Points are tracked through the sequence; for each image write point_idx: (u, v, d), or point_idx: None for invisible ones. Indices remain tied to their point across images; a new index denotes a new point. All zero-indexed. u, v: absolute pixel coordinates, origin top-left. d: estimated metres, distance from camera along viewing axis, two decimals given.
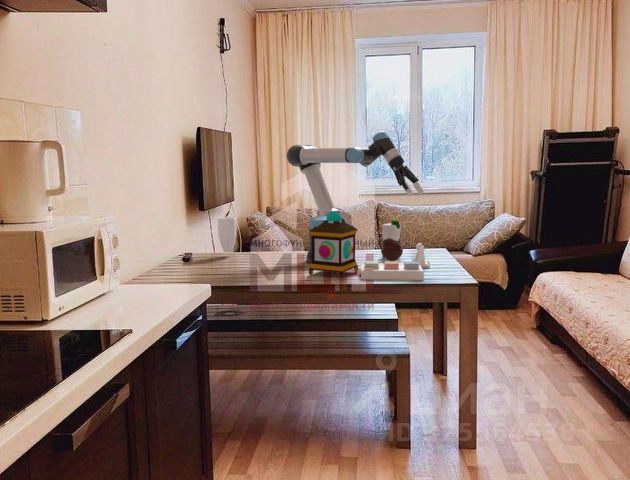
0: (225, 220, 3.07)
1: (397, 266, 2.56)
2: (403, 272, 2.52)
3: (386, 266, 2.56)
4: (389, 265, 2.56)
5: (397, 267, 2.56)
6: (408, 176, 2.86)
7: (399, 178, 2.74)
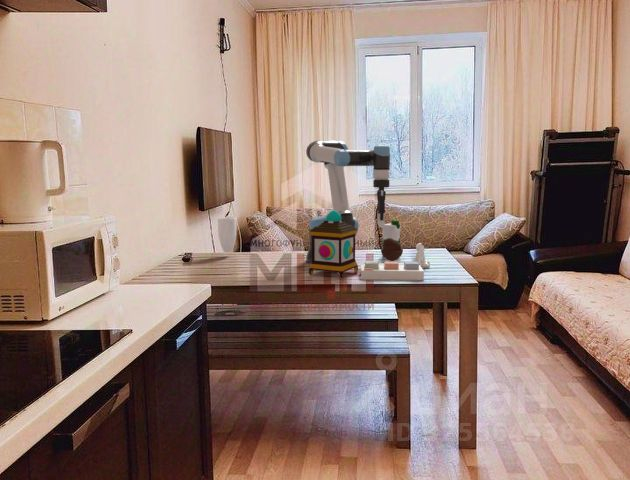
0: (225, 220, 3.07)
1: (397, 266, 2.56)
2: (403, 272, 2.52)
3: (386, 266, 2.56)
4: (389, 265, 2.56)
5: (397, 267, 2.56)
6: None
7: (382, 207, 2.59)
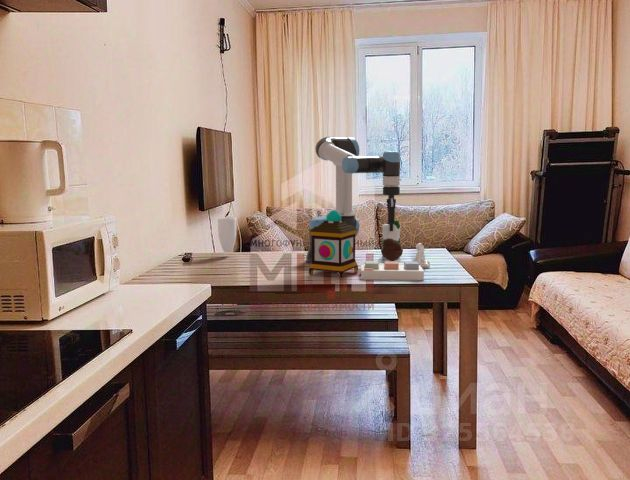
0: (225, 220, 3.07)
1: (397, 266, 2.56)
2: (403, 272, 2.52)
3: (386, 266, 2.56)
4: (389, 265, 2.56)
5: (397, 267, 2.56)
6: None
7: (392, 218, 2.53)
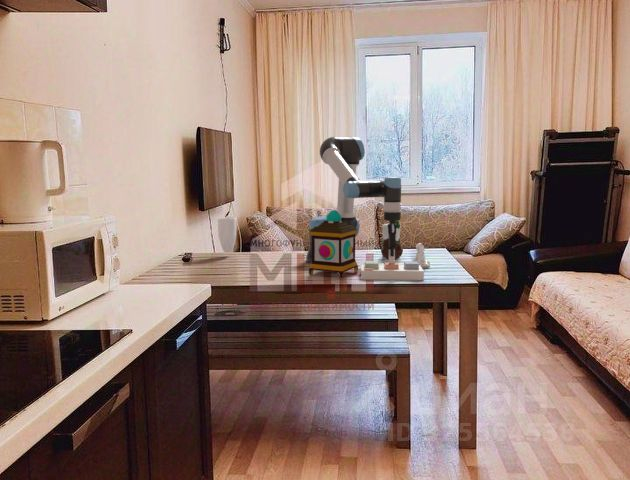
0: (225, 220, 3.07)
1: (397, 267, 2.56)
2: (403, 272, 2.52)
3: (386, 267, 2.56)
4: (389, 266, 2.56)
5: (397, 268, 2.56)
6: None
7: (393, 244, 2.53)
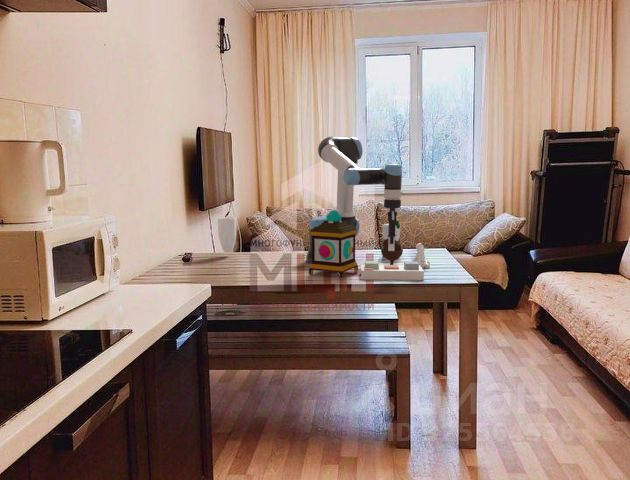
0: (225, 220, 3.07)
1: None
2: (403, 272, 2.52)
3: None
4: None
5: None
6: None
7: (393, 231, 2.53)
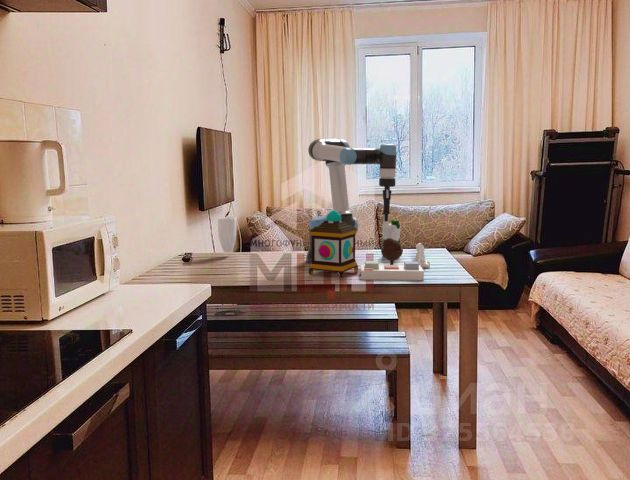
0: (225, 220, 3.07)
1: None
2: (403, 272, 2.52)
3: None
4: None
5: None
6: None
7: (387, 209, 2.63)
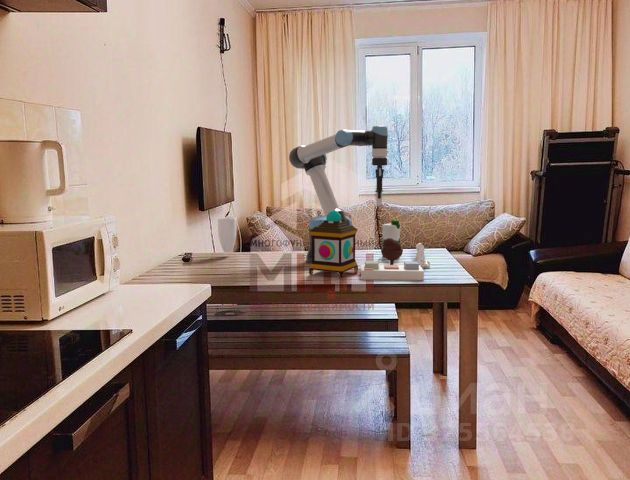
0: (225, 220, 3.07)
1: None
2: (403, 272, 2.52)
3: None
4: None
5: None
6: None
7: (380, 186, 2.80)
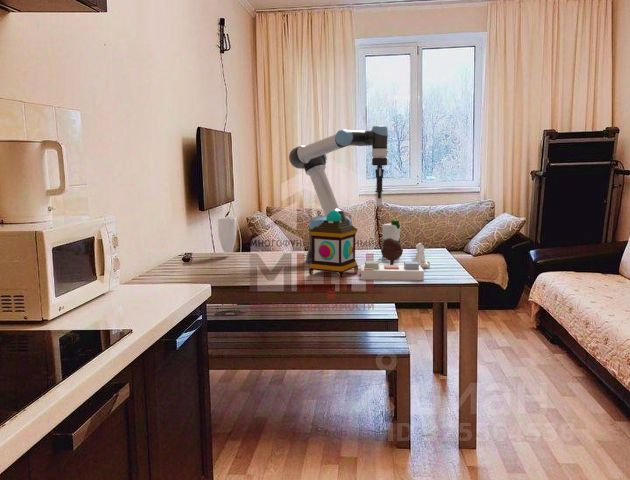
0: (225, 220, 3.07)
1: None
2: (403, 272, 2.52)
3: None
4: None
5: None
6: None
7: (380, 186, 2.80)
